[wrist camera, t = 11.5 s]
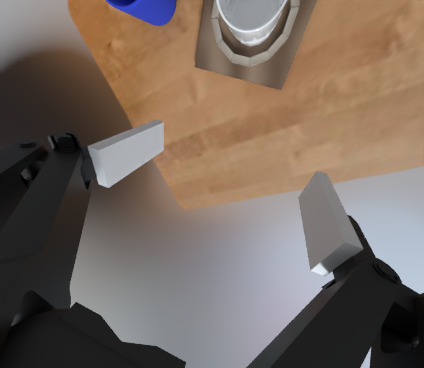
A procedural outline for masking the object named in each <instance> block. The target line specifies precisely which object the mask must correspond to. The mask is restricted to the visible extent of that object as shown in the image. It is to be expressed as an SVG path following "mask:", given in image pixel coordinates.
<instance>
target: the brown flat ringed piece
mask: <svg viewBox="0 0 424 368" xmlns="http://www.w3.org/2000/svg"><path fill="white" fill-rule="evenodd" d="M316 1H317V0H287V2H286V4H285V7H284V9H283V11H282V14H281V16H280V18H279V20H278V22H277V24H276V26H275V28H274V29H273V31H272V32H271V34H270V36H269V37H268V38H267V39H266V40H265V41H263V42H262V43H261V44H259V45H255V46H251V47H250V46H247V45H244V44H241V43H240V41H239V40H238V39H237V38H236V37H235V36H234V35H233V33H232V32H231V31H230V29H229V27H228V26H227V24H226V22H225V21H224V19H223V18H222V16H221V14H220V12H219V9H218V6H217V2H216V0H204V5H203V13H202V20H201V27H200V34H199V41H198V48H197V56H196V63H195V67H196V68H200V69H204V70H207V71H211V72H215V73H219V74H222V75H226V76H230V77H234V78H237V79H241V80H245V81H249V82H252V83H256V84H260V85H264V86H267V87H271V88H275V89H279V90H281V89H282V87H283V84H284V82H285V79H286V77H287V74H288V72H289V69H290V67H291V64H292V61H293V59H294V56H295V54H296V51H297V49H298V46H299V44H300V41H301V39H302V36H303V34H304V31H305V29H306V26H307V24H308V21H309V19H310V16H311V14H312V11H313V9H314V6H315V4H316Z"/></svg>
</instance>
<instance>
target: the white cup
mask: <svg viewBox="0 0 424 368" xmlns="http://www.w3.org/2000/svg"><path fill="white" fill-rule="evenodd" d="M216 2H217V6H218V9H219V12H220V14H221V16H222V18H223V19H224V21H225V22H226V24H227V26H228V27H229V29H230V31H231V32H232V33H233V35H234V36H235V37H236V38H237V39H238V40H239V41H240V43H241V44H244V45H247V46H250V47H251V46H255V45H259V44H261V43H262V42H263V41H265V40H266V39H267V38H268V37H269V36H270V34H271V32H272V31H273V29H274V28H275V26H276V24H277V22H278V20H279V18H280V16H281V14H282V11H283V9H284V7H285V4H286V2H287V0H216Z"/></svg>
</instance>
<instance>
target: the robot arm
mask: <svg viewBox="0 0 424 368" xmlns="http://www.w3.org/2000/svg"><path fill="white" fill-rule="evenodd" d="M47 137H48V140H49V142H50V144H51V146H52V148H53V150H50V149H46V148H45V145H44V143H43V142H42V141H40V140H31V139H27V140H26V139H25V140H22V141H18V142H15V143H13V144H11V145H9V146H7V147H5V148H3V149H2V150H0V368H185V365H186V362H185V361H183V360H181V359H179V358H177V357H175V356H174V355H172V354H170V353H168V352H166V351H164V350H163V349H161V348H159V347H157V346H150V345H143V344H135V343H127V342H122V341H121V340H120V339H119V338H118V337H117V335H116V334H115V333H114V332H113V330H112V329H111V328H110V327H109V326H108V324H107V323H106V322H105V320H104V319H103V318H102V316H100V315H99V314H97V313H95V312H93V311H92V310H90V309H88V308H86V307H84V306H83V305H81V304H79V303H77V302H76V303H75V304H74V305H73V306H72V307H71V308H70V304H71V296H70V289H69V288H70V281H71V277H72V272H73V268H74V264H75V259H76V255H77V251H78V247H79V242H80V238H81V234H82V229H83V225H84V221H85V217H86V212H87V208H88V204H89V199H90V195H91V191H92V187H93V182H92V179H93V178H95V177H97V180H98V183H99V184H100V185H103V186H105V187H107V188H109V187H111V186H112V185H113V184H115V183H116V182H118V181H119V180H121V179H122V178H124V177H125V176H127V175H128V174H130V173H131V172H133V171H134V170H135V169H137V168H138V167H140V166H141V165H143V164H144V163H146V162H147V161H148V160H150V159H152V158H153V157H155V156H156V155H158V154H159V153H161V152H162V151H164V122H162V121H158V120H154V121H152V122H149V123H146V124H144V125H141V126H139V127H136V128H133V129H131V130H128V131H126V132H123V133H121V134H118V135H115V136H113V137H109V138H107V139H104V140H101V141H99V142H96V143H93V144H91V145H88V146H85V147H83V148H81V145H80V142H79V139H78V136H77V135H76V134H74V133H71V132H58V133H53V134H50V135H49V136H47ZM24 169H25V171H26V173H27V174H28V176H29V177H28V178H27V179H24V178H23V176H22V175H21V172H22V171H23V170H24ZM299 203H300V210H301V216H302V221H303V228H304V234H305V240H306V246H307V252H308V258H309V264H310V270H311V271H313V272H316V273H318V274H321V275H323V276H326V275H328V274H329V273H330V272H332V271H333V275H334V278H335V279H333V280H332V281H330V282H329V283H327V284H326V285H324V286H323V287H322V288H323V289H322V290H321V291H320V293H319V294H317V296H316V297H315V298H314V299H313V300H312V301H311V302H310V303H309V304H308V305H307V306H306V307H305V308H304V309H303V310H302V311H301V312H300V313H299V314H298V315H297V316H296V317H295V318H294V319H293V320H292V321H291V322H290V323H289V325H287V326H286V327H285V329H283V330H282V332H281V333H280V334H279V335H278V336H277V337H276V338H275V339H274V340H273V341H272V342H271V343H270V344H269V345H268V346H267V347H266V348H265V349H264V350H263V351H262V352H261V353H260V354H259V355H258V356H257V357H256V358H255V359H254V361H252V363H250V364H249V365H248V366H247V367H246V368H360V367H361V365H362V363H363V361H364V359H365V357H366V355H367V353H368V351H369V349H370V348H371V357H370V368H424V293H422V294H418V293H417V292H415V291H413V290H412V289H410V288H408V287H407V286H405V285H403V284H402V281H401V280H400V277H399V276H398V274H397V273H396V272H395V271H394V270H393V269H392V268H391V267H390V266H389V265H388V264H386V263H385V262H383V261H382V260H380V259H378V258H376V257H375V255H374V253H373V251H372V249H371V247H370V246H369V244H368V242H367V240H366V238H364V237H365V236H364V234H363V232H361V229H360V227H359V225H358V223H357V222H356V221H355V220H354V219H353V218H352V217H351V216H349V215H347V214H346V212H345V210H344V208H343V206H342V204H341V202H340V199H339V197H338V195H337V193H336V191H335V189H334V187H333V185H332V183H331V181H330V179H329V177H328V175H327V174H325V173H322V172H318V171H317V172H316V173H315V174H314V176H313V177H312V179H311V180H310V182H309V183H308V184H307V186H306V187H305V189H304V190H303V192H302V193H301V195H300V196H299Z"/></svg>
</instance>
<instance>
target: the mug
mask: <svg viewBox="0 0 424 368" xmlns="http://www.w3.org/2000/svg"><path fill="white" fill-rule="evenodd" d="M106 1H107V2H108V3H109V4H110V5H112V6H113V7H115V8H117V9H119V10H121V11H123V12H126V13H128V14H130V15H132V16H134V17H137V18H139V19H141V20H143V21H146V22H148V23H150V24H152V25H156V26H161V25H164V24H166V23H168V22H169V21H170V19H171V18H172V16H173V14H174V12H175V8H176V0H106Z"/></svg>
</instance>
